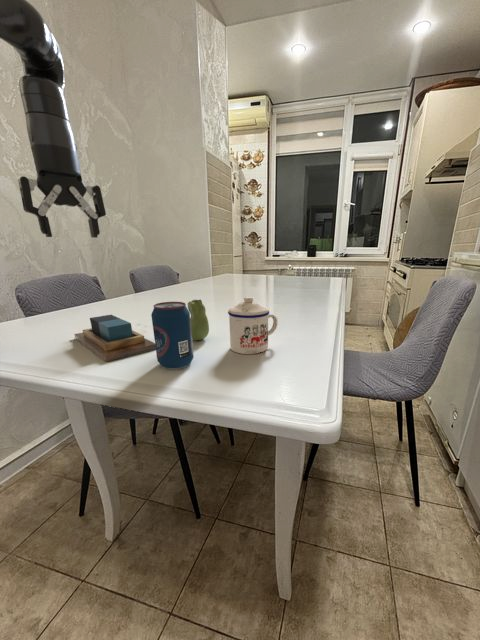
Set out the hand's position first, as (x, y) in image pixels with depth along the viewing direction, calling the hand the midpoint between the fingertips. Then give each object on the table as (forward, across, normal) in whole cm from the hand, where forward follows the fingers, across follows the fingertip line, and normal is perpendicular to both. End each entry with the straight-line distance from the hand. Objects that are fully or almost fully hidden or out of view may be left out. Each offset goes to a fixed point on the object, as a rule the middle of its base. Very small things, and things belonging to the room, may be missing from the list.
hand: (72, 237), depth 62 cm
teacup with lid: (+24, -25, +30) cm, 46 cm away
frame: (+24, -3, +4) cm, 24 cm away
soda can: (+24, -7, +26) cm, 36 cm away
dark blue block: (+23, -3, +1) cm, 23 cm away
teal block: (+23, -3, +7) cm, 24 cm away
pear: (+24, -19, +16) cm, 35 cm away
